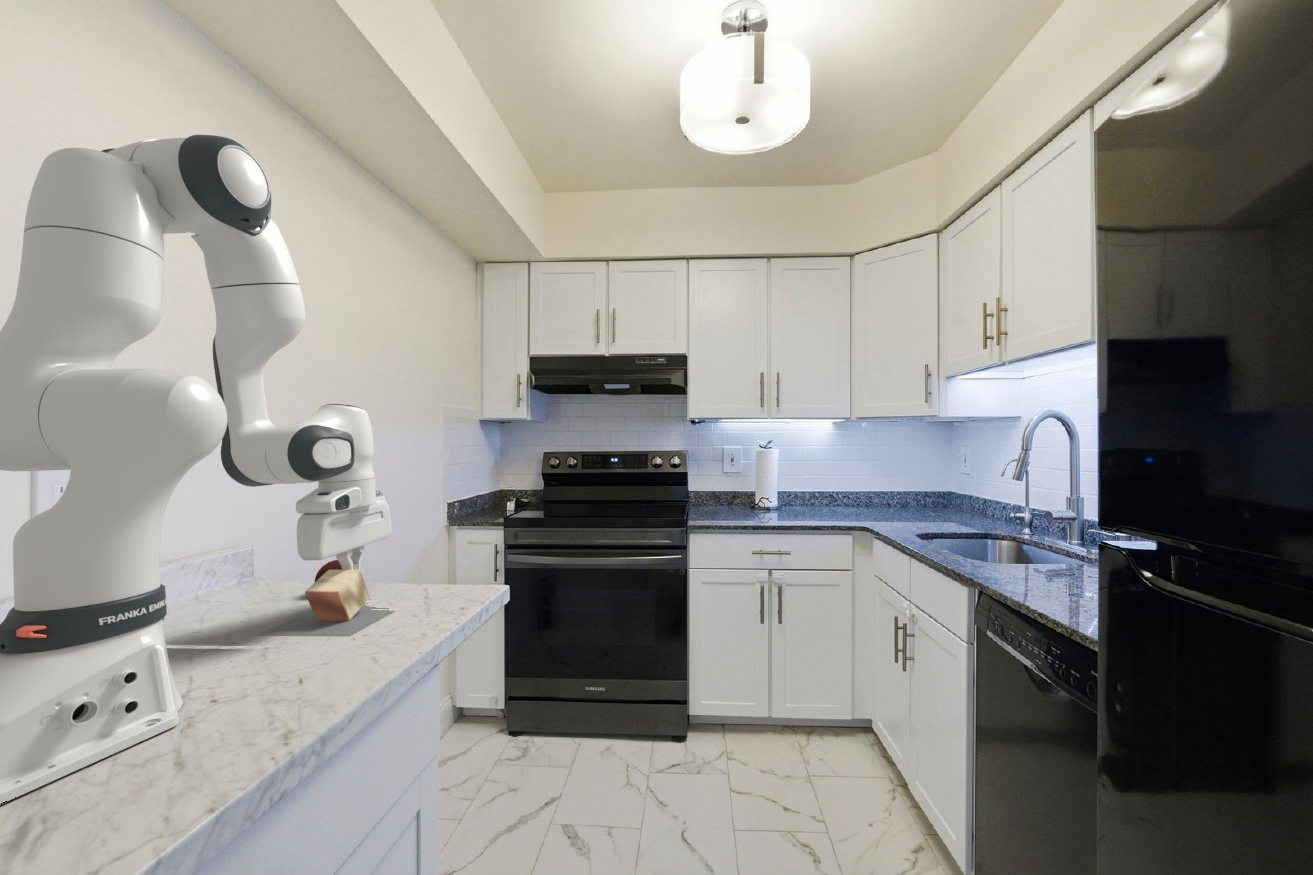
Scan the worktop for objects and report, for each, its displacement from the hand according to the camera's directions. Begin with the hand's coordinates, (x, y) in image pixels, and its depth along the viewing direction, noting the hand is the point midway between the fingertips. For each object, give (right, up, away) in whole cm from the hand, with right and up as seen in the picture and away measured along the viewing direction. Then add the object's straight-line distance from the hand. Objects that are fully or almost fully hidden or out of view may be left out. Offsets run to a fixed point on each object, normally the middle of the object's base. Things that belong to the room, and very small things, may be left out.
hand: (351, 573), depth 97 cm
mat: (0, -7, -2) cm, 8 cm away
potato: (-10, -8, +13) cm, 19 cm away
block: (0, -2, -1) cm, 2 cm away
